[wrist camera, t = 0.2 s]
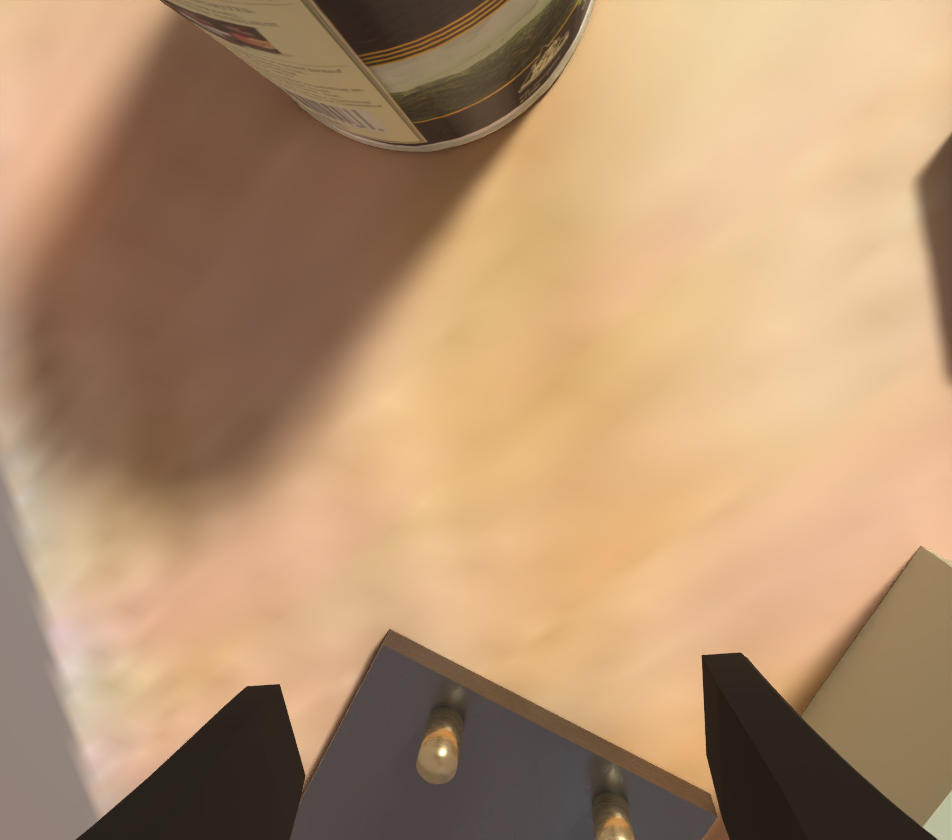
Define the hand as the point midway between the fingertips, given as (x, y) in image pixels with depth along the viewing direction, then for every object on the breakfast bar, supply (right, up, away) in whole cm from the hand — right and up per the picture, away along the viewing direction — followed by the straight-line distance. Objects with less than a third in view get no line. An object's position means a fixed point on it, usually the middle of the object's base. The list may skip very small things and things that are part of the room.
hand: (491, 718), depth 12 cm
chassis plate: (-1, -10, +13) cm, 16 cm away
